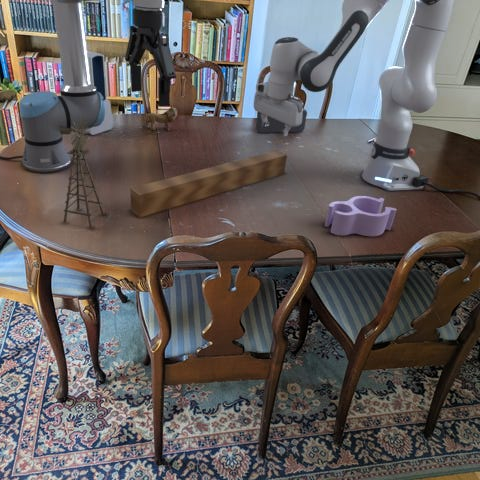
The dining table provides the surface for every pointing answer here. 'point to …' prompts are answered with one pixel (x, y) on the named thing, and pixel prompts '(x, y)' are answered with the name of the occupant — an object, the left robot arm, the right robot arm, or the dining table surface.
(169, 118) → the lion figurine
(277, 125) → the handheld gaming console
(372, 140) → the sword
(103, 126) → the electronic device
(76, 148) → the miniature windmill
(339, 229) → the clip
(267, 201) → the dining table surface
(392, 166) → the right robot arm
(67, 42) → the left robot arm
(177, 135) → the dining table surface
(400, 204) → the dining table surface
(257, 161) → the bar
